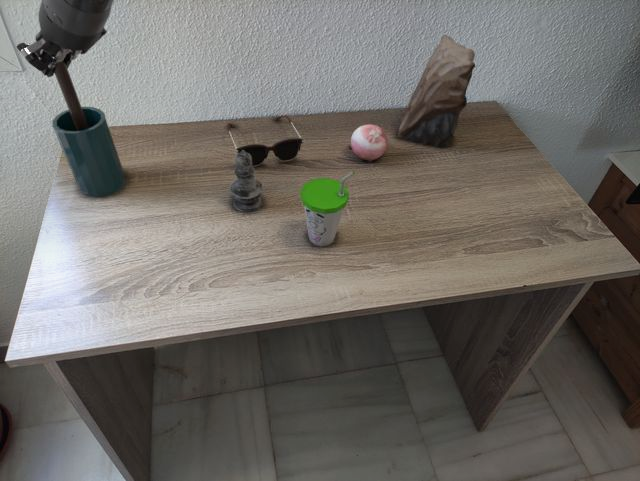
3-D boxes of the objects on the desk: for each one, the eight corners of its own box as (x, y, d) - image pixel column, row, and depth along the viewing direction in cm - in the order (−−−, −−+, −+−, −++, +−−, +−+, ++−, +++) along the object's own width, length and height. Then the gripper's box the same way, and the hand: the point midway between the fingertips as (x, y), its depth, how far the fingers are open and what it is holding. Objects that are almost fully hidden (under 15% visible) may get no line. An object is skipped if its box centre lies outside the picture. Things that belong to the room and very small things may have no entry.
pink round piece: (358, 169, 97) (362, 140, 92) (342, 148, 102) (344, 119, 96) (391, 161, 99) (397, 132, 94) (374, 141, 104) (378, 112, 99)
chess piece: (257, 189, 91) (253, 136, 82) (268, 208, 88) (265, 155, 79) (227, 196, 89) (221, 144, 80) (237, 216, 86) (231, 163, 77)
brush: (83, 172, 85) (35, 54, 69) (82, 158, 88) (36, 42, 72) (109, 168, 86) (67, 51, 70) (107, 154, 89) (67, 39, 73)
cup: (290, 240, 82) (290, 172, 71) (316, 216, 87) (319, 148, 76) (327, 260, 79) (333, 193, 68) (351, 234, 84) (361, 166, 73)
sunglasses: (238, 169, 95) (236, 148, 92) (224, 130, 106) (221, 110, 103) (303, 159, 98) (303, 138, 95) (283, 122, 109) (282, 102, 106)
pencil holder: (80, 201, 87) (52, 137, 76) (78, 174, 92) (52, 110, 82) (127, 192, 89) (106, 128, 79) (123, 166, 94) (103, 103, 84)
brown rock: (416, 112, 113) (435, 28, 99) (466, 130, 109) (493, 44, 94) (394, 137, 106) (411, 49, 91) (447, 156, 101) (473, 68, 87)
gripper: (100, -33, 65) (74, 33, 78) (5, -5, 57) (-6, 63, 70) (136, 17, 67) (104, 73, 80) (49, 51, 58) (29, 106, 72)
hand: (53, 68), depth 75 cm, fingers closed on brush, 2 cm apart
